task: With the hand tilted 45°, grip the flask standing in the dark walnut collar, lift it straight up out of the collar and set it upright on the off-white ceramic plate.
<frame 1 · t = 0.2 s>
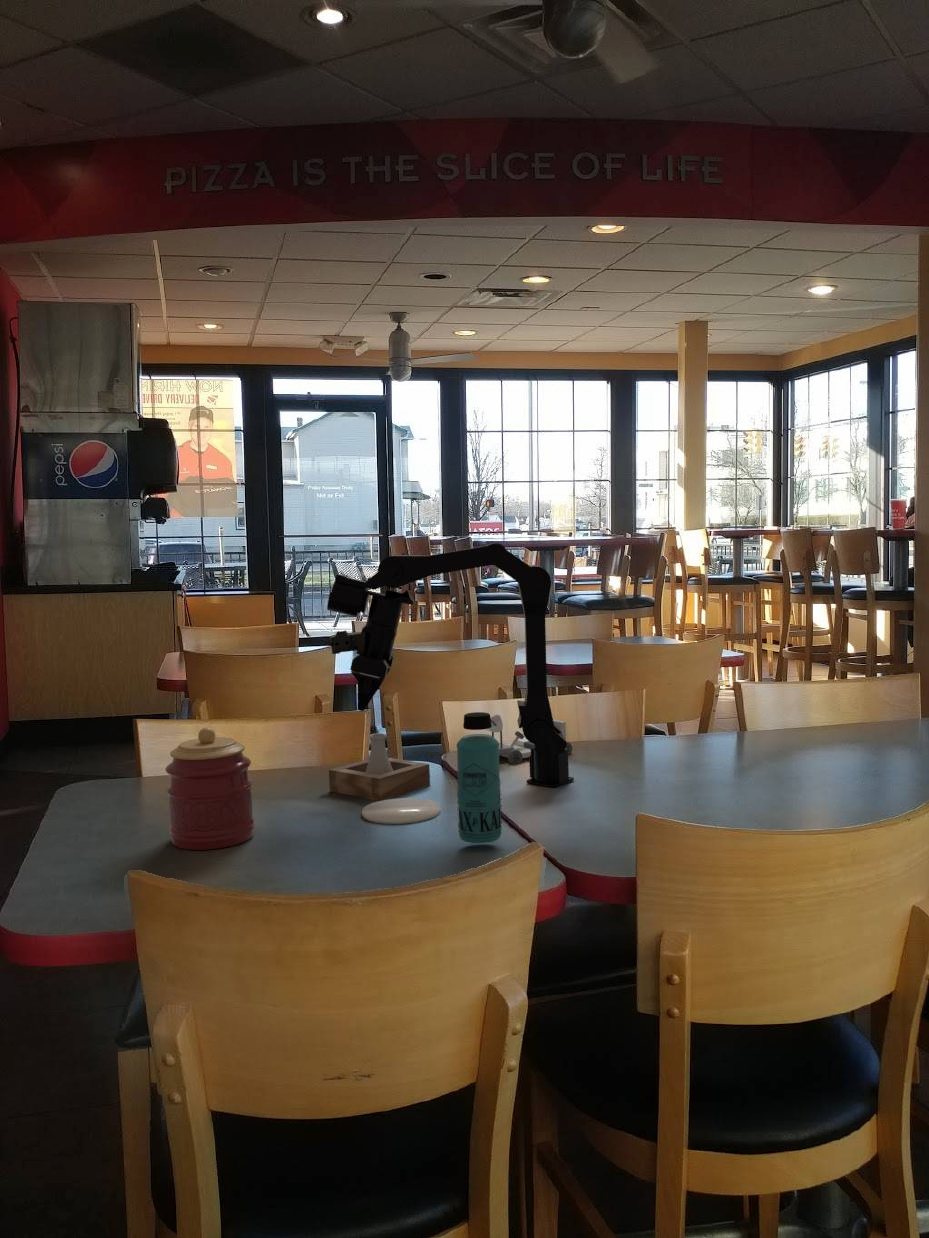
hand: (363, 706, 189), 15 cm above the table, tool tilted 15°, fingers open, 9 cm apart
beverage bottle: (481, 848, 153), on the table
toy car: (520, 757, 215), on the table
walnut collar: (380, 788, 191), on the table
ceramic plate: (401, 812, 173), on the table
canister: (213, 840, 163), on the table
flask: (380, 789, 191), resting in walnut collar
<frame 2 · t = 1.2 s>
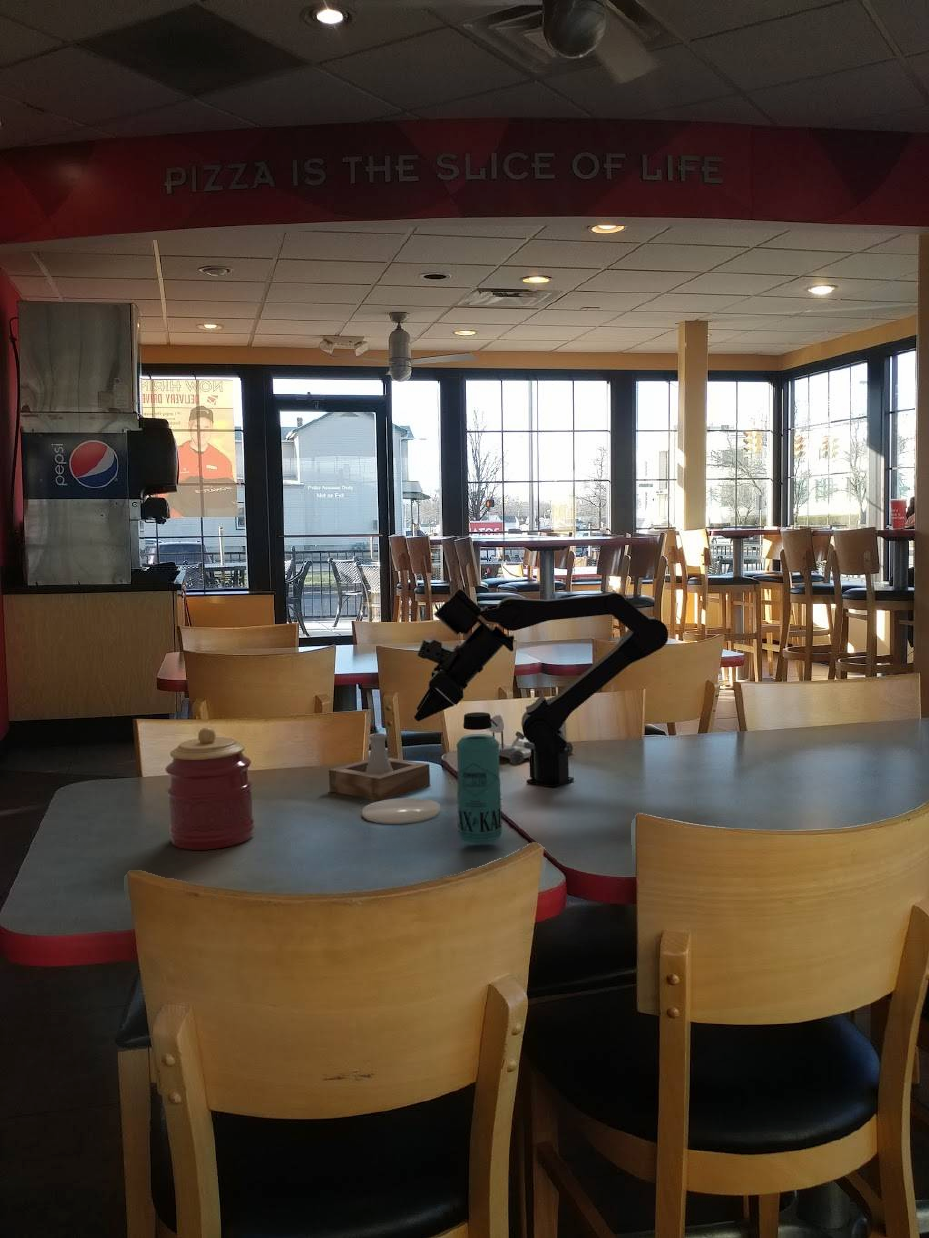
hand: (417, 714, 189), 13 cm above the table, tool tilted 45°, fingers open, 9 cm apart
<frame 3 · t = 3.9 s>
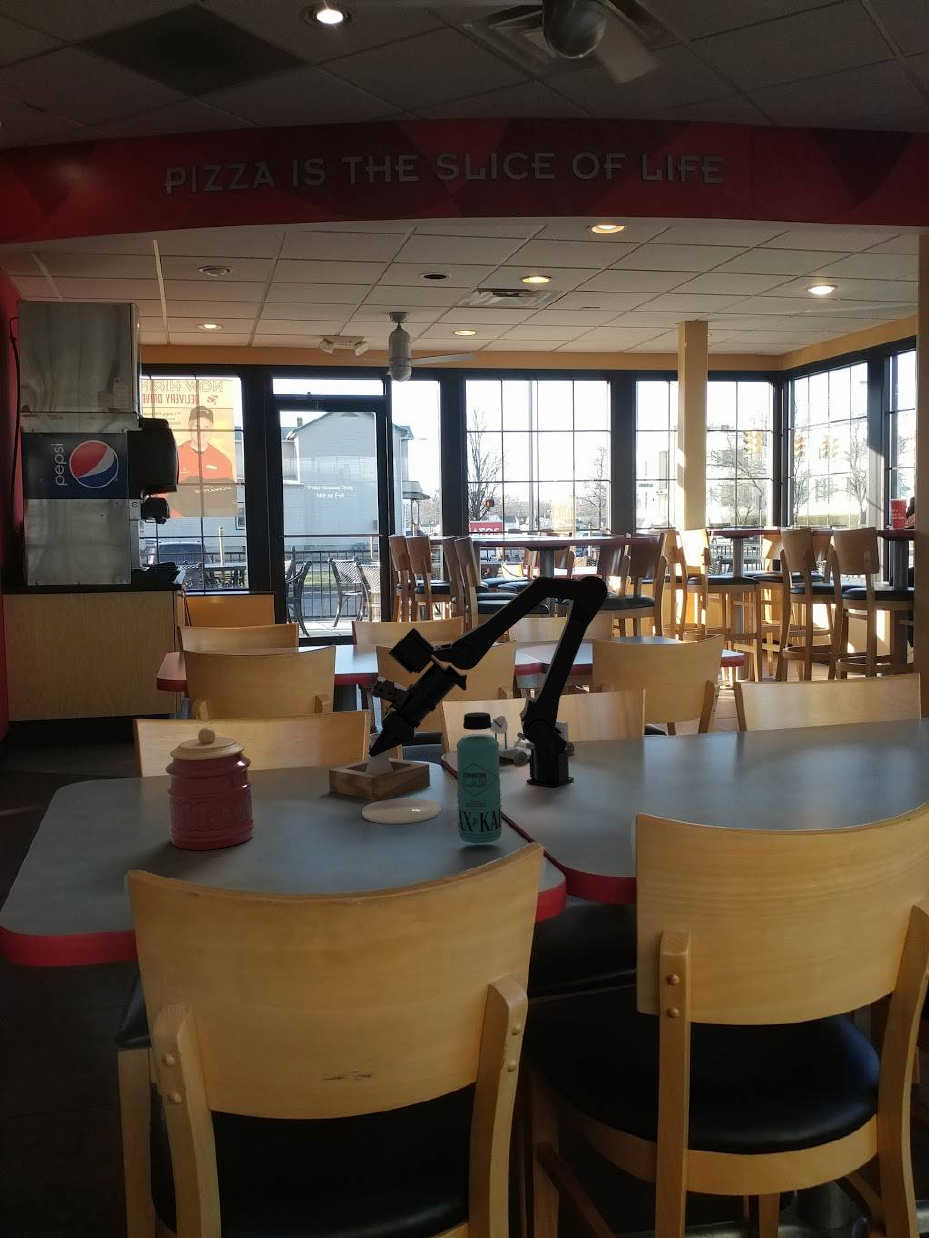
hand: (370, 753, 190), 7 cm above the table, tool tilted 45°, fingers closed on flask, 3 cm apart
flask: (380, 789, 191), resting in walnut collar, touching gripper
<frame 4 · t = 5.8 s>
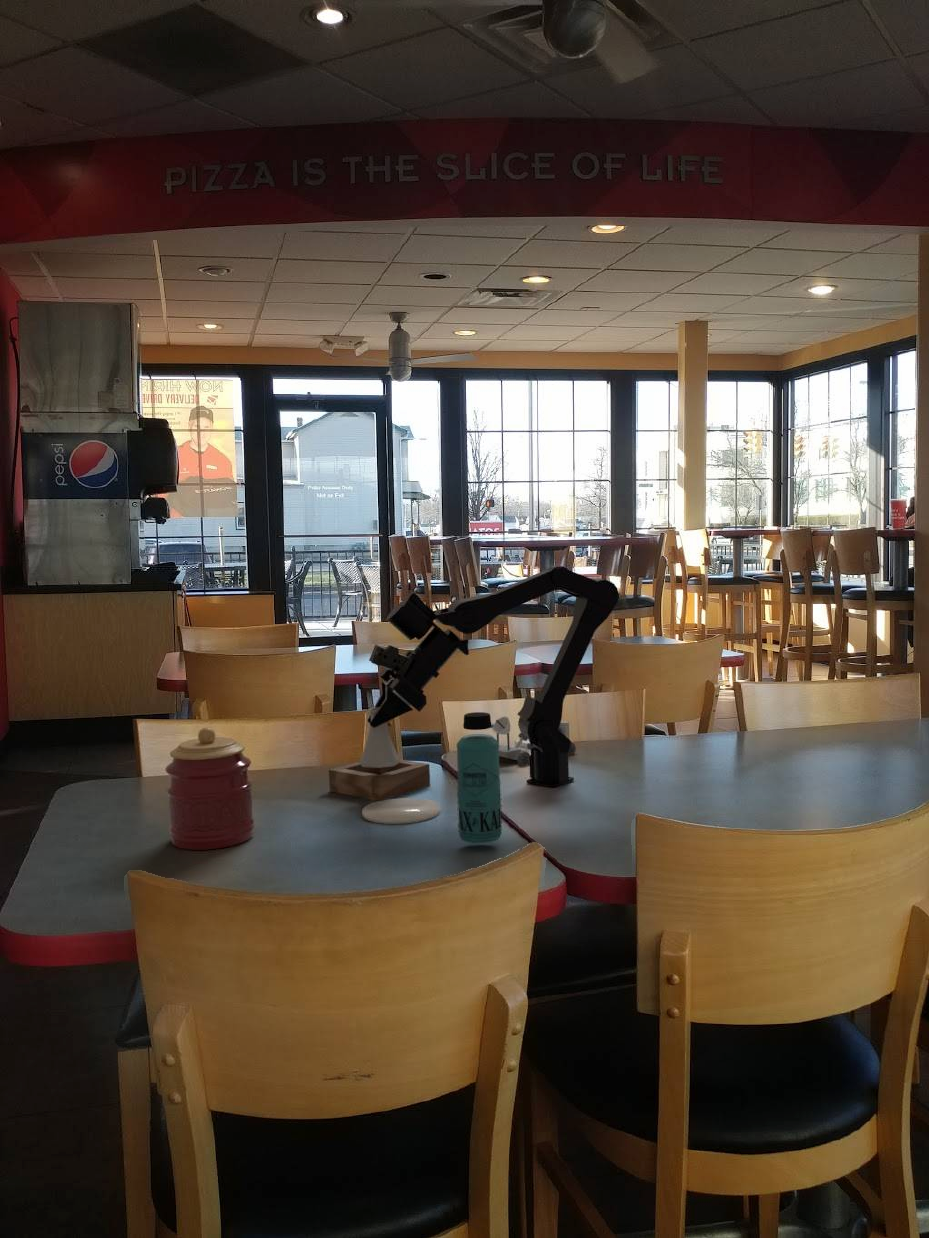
hand: (370, 724, 182), 13 cm above the table, tool tilted 45°, fingers closed on flask, 3 cm apart
flask: (379, 765, 183), point 6 cm above the table, touching gripper
when the fingers open (9 cm above the table, at t = 7.9 s): flask stays where it is, resting on ceramic plate.
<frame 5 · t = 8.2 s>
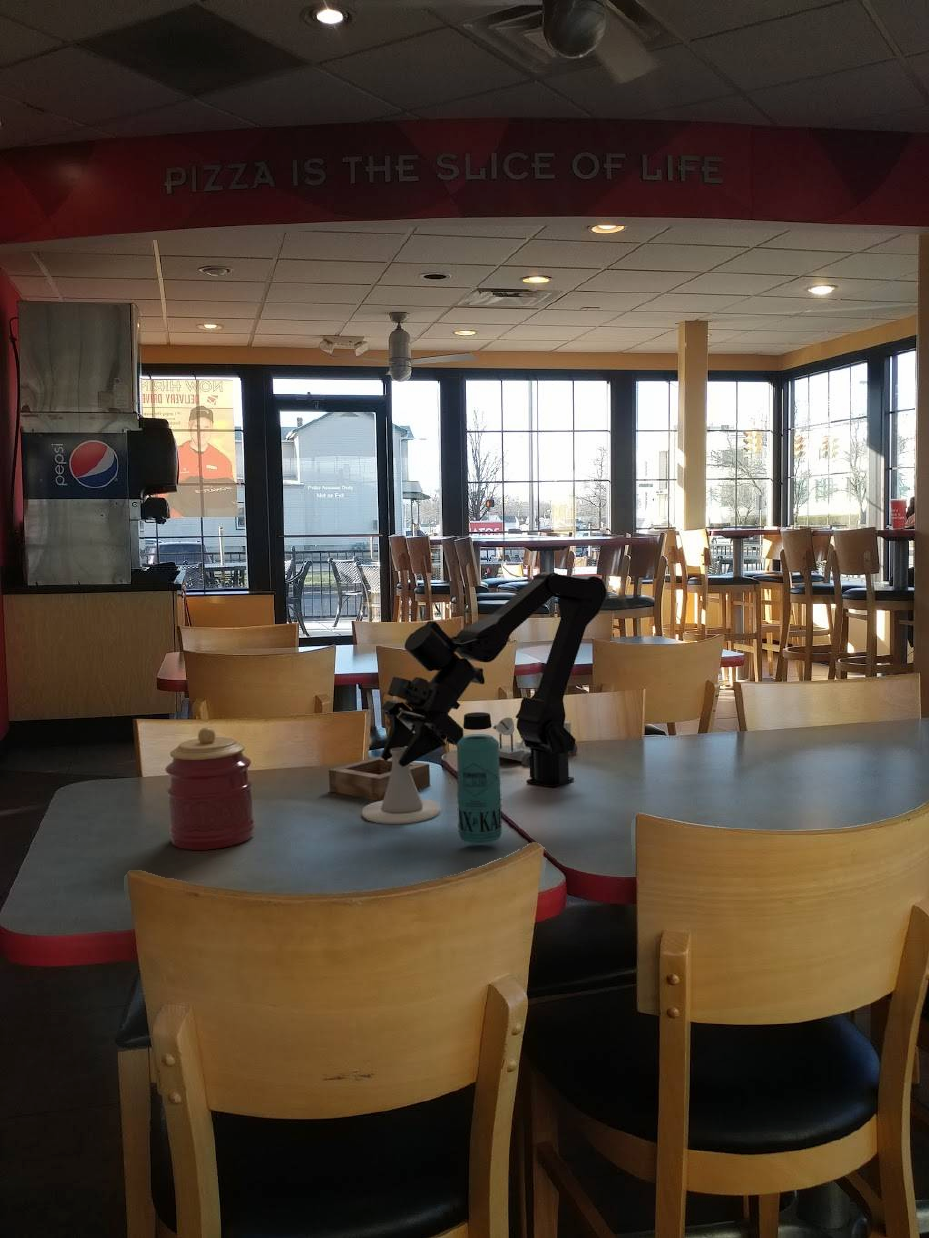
hand: (391, 761, 172), 9 cm above the table, tool tilted 45°, fingers open, 6 cm apart
flask: (402, 809, 173), point 1 cm above the table, touching ceramic plate
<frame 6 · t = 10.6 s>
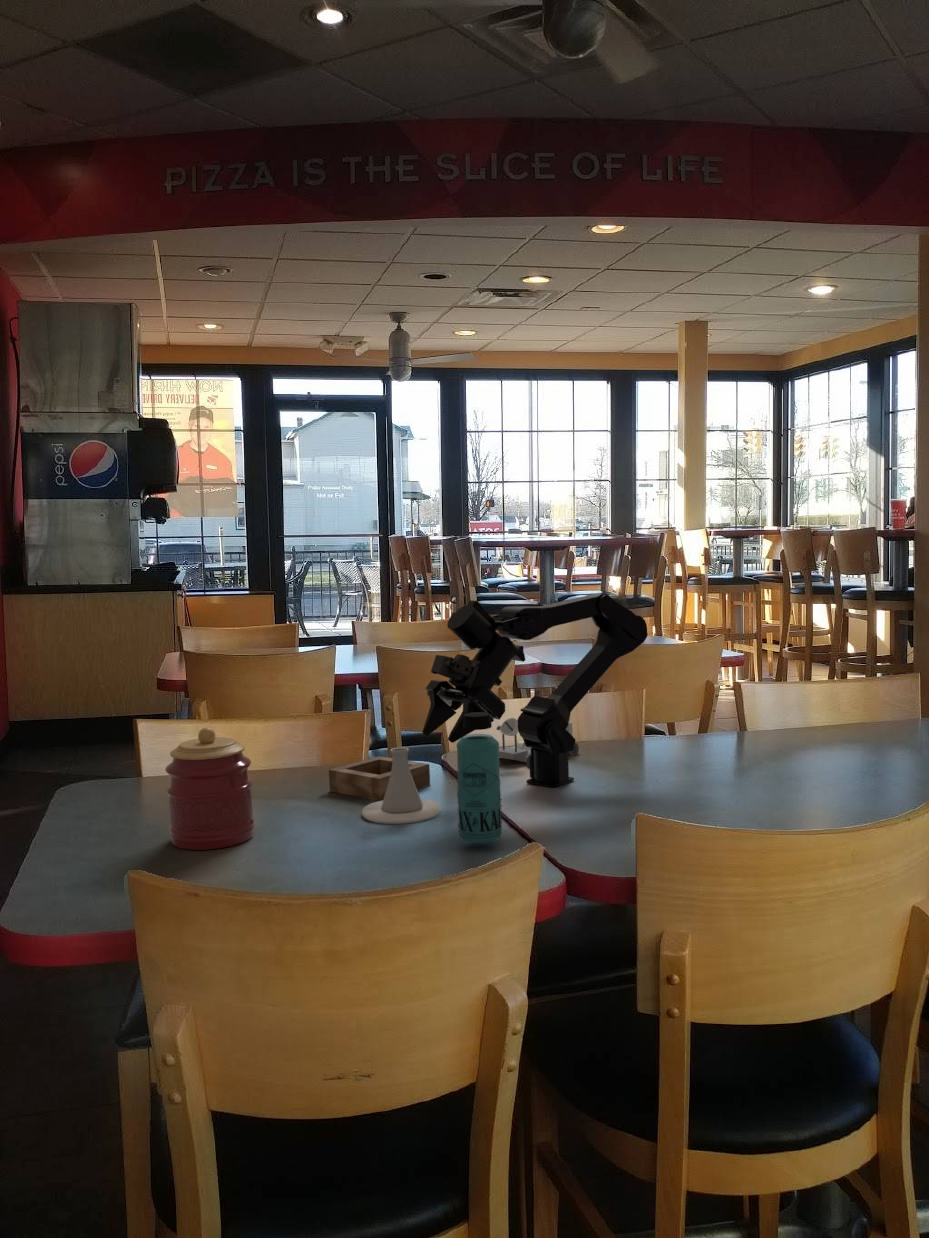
hand: (436, 737, 177), 12 cm above the table, tool tilted 45°, fingers open, 9 cm apart
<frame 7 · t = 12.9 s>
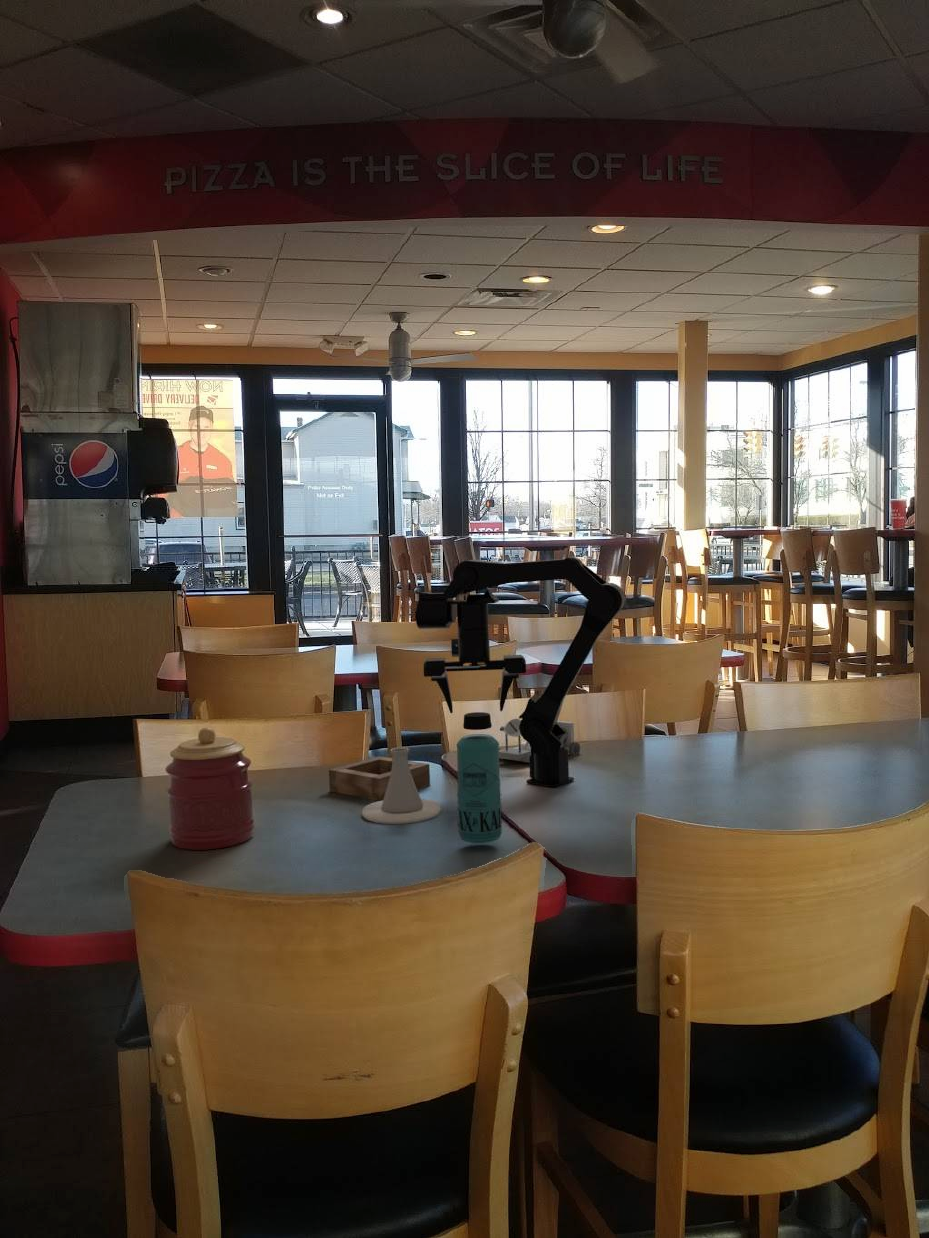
hand: (476, 711, 192), 13 cm above the table, tool pointing down, fingers open, 9 cm apart
at the end: flask inside the target area on the ceramic plate (0.2 cm from its centre), point 0.6 cm above the ceramic plate's base; flask tilted 0°; the gripper is holding nothing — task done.
